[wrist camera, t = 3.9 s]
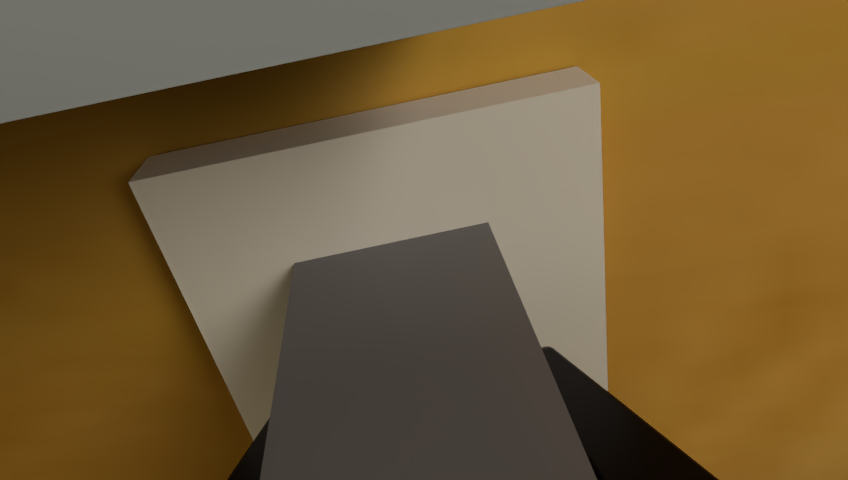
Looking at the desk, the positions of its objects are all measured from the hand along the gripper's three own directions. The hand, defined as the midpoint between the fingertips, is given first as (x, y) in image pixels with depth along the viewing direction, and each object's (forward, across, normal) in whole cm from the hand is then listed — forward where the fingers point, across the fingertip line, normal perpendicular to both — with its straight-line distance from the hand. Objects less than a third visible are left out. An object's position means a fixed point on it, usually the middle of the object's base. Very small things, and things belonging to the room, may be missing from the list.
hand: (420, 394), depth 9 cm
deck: (+3, 0, 0) cm, 3 cm away
